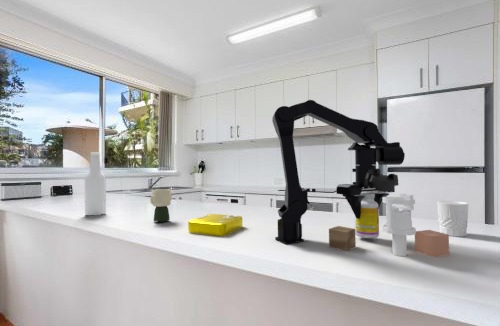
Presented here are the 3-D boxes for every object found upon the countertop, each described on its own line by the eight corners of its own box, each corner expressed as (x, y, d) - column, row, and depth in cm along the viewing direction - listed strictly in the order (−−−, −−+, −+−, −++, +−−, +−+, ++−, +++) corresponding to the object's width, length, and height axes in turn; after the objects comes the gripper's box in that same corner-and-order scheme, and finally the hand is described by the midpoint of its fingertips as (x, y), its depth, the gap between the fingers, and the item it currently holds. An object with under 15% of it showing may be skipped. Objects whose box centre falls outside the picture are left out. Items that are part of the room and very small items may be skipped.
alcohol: (109, 213, 128) (109, 152, 129) (91, 216, 121) (90, 151, 121) (99, 212, 133) (99, 153, 133) (81, 215, 125) (80, 152, 126)
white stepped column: (403, 260, 61) (401, 195, 61) (377, 251, 67) (376, 193, 67) (423, 256, 63) (421, 194, 64) (396, 248, 70) (395, 191, 70)
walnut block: (346, 251, 68) (345, 232, 68) (329, 247, 72) (328, 228, 72) (355, 247, 71) (355, 228, 71) (338, 243, 75) (338, 225, 75)
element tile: (210, 224, 103) (210, 212, 104) (244, 227, 97) (244, 214, 97) (185, 233, 90) (185, 219, 90) (223, 238, 84) (223, 223, 84)
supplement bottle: (382, 239, 75) (381, 194, 75) (357, 238, 76) (356, 193, 76) (375, 233, 81) (374, 191, 81) (353, 232, 83) (352, 191, 83)
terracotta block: (433, 257, 63) (433, 236, 63) (415, 250, 68) (414, 231, 68) (449, 255, 64) (448, 234, 64) (429, 248, 69) (429, 229, 69)
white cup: (464, 232, 85) (463, 201, 85) (472, 238, 78) (472, 204, 78) (435, 230, 88) (434, 200, 88) (440, 235, 81) (439, 203, 81)
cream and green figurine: (165, 218, 114) (165, 188, 115) (177, 220, 111) (177, 189, 111) (144, 223, 105) (144, 190, 105) (157, 225, 101) (157, 191, 102)
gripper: (366, 165, 67) (367, 226, 67) (411, 164, 76) (412, 218, 76) (334, 165, 77) (335, 218, 77) (377, 165, 86) (378, 212, 86)
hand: (366, 217), depth 79 cm, fingers closed on supplement bottle, 7 cm apart
